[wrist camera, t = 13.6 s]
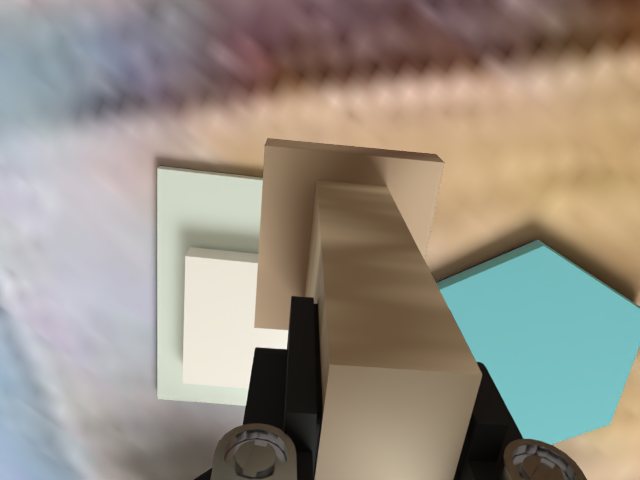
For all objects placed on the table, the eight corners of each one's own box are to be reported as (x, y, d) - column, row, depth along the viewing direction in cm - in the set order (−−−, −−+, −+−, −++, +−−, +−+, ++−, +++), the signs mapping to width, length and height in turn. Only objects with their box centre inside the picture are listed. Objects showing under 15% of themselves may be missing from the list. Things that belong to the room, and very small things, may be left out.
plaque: (425, 465, 44) (658, 385, 40) (429, 485, 42) (674, 403, 38) (338, 315, 38) (607, 202, 34) (339, 331, 36) (624, 214, 32)
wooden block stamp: (436, 154, 18) (614, 328, 8) (403, 322, 21) (501, 618, 10) (267, 138, 17) (212, 298, 7) (257, 311, 20) (206, 608, 10)
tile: (326, 270, 32) (185, 256, 32) (309, 393, 36) (182, 383, 36) (325, 259, 34) (190, 245, 33) (308, 379, 38) (187, 369, 37)
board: (394, 192, 33) (395, 195, 32) (352, 408, 40) (352, 414, 39) (159, 165, 32) (157, 168, 31) (159, 393, 39) (157, 398, 38)
